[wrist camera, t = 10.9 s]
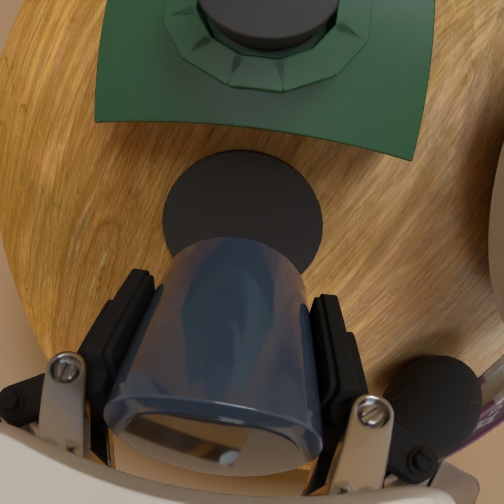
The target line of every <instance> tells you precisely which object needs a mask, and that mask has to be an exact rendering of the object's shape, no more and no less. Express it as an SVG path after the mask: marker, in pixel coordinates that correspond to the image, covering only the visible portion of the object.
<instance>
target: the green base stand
mask: <svg viewBox="0 0 504 504" xmlns="http://www.w3.org/2000/svg"><path fill="white" fill-rule="evenodd" d="M434 15H435V0H340V1H339V4H338V6H337V8H336V10H335V12H334V13H333V15H332V16H331V17H330V18H329V19H328V21H327V22H326V23H325V24H324V25H323V26H322V27H321V29H320V30H319V31H318V32H317V33H316V34H315V35H314V36H313V37H312V38H310V39H309V40H307V41H306V42H304V43H302V44H300V45H297V46H294V47H291V48H287V49H282V50H258V49H252V48H249V47H245V46H242V45H240V44H238V43H236V42H234V41H232V40H230V39H229V38H227V37H226V36H225V35H224V34H222V33H221V32H220V31H219V30H218V28H217V27H216V26H215V25H214V23H213V22H212V21H211V20H210V18H209V17H208V16H207V15H206V13H205V12H204V11H203V9H202V8H201V6H200V4H199V1H198V0H107V4H106V9H105V14H104V20H103V25H102V32H101V39H100V46H99V55H98V64H97V76H96V91H95V120H94V121H95V122H96V123H103V122H181V123H200V124H214V125H225V126H236V127H245V128H253V129H261V130H269V131H276V132H282V133H289V134H295V135H301V136H306V137H312V138H317V139H322V140H327V141H332V142H337V143H342V144H346V145H351V146H355V147H359V148H363V149H367V150H371V151H375V152H379V153H383V154H386V155H390V156H394V157H397V158H400V159H404V160H407V161H412V160H413V156H414V152H415V148H416V143H417V139H418V135H419V130H420V125H421V120H422V115H423V110H424V105H425V99H426V93H427V87H428V80H429V73H430V65H431V56H432V46H433V33H434Z"/></svg>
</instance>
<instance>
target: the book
mask: <svg viewBox="0 0 504 504" xmlns="http://www.w3.org/2000/svg"><path fill="white" fill-rule="evenodd" d="M478 380H479V383H480V386H481V390H482V410H481V415H480V418H479V421H478V423H477V425H476V427H475V429H474V431H473V433H472V434H471V436H470V437H469V438H468V439H467V441H466V442H465V443H464V444H463V445H462V446H461V447H460V448H458V449H457V450H456V451H455V452H453V453H452V454H450V455H448V456H446V457H444V458H442V459H439V461H441V460H444V459H446V458H448V457H450V456H452V455H453V454H455V453H457V452H458V451H460V450H462V449H463V448H465V447H467V446H468V445H470V444H472V443H473V442H475V441H476V440H478V439H479V438H481V437H482V436H484V435H485V434H487V433H488V432H490V431H491V430H492V429H494V428H495V427H497V426H498V425H499V424H501V423H502V422H503V421H504V356H502V357H501V358H500V359H499V360H498V361H497V362H496V363H495V364H494V365H493V366H492V367H491V368H489V369H488V370H487V371H486V372H485V373H484V374H483V375H482V376H481V377H480V378H479V379H478Z"/></svg>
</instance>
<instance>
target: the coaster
mask: <svg viewBox="0 0 504 504" xmlns="http://www.w3.org/2000/svg"><path fill="white" fill-rule="evenodd" d="M322 229H323V222H322V213H321V209H320V206H319V203H318V200H317V198H316V196H315V193H314V192H313V190H312V188H311V187H310V185H309V183H308V182H307V181H306V180H305V179H304V177H303V176H302V175H301V174H300V173H299V172H298V171H296V170H295V169H294V168H293V167H292V166H290V165H289V164H287V163H286V162H284V161H282V160H280V159H278V158H276V157H274V156H271V155H268V154H265V153H262V152H257V151H252V150H230V151H224V152H220V153H216V154H213V155H210V156H208V157H205V158H203V159H202V160H200V161H198V162H196V163H195V164H194V165H192V166H191V167H189V168H188V169H187V170H186V171H185V172H184V173H183V174H182V175H181V176H180V177H179V178H178V180H177V181H176V182H175V184H174V185H173V187H172V189H171V190H170V192H169V194H168V197H167V200H166V203H165V207H164V212H163V230H164V235H165V240H166V243H167V245H168V248H169V250H170V252H171V254H172V256H173V258H174V257H175V256H176V255H177V254H178V253H179V252H180V251H182V250H183V249H185V248H186V247H188V246H190V245H192V244H194V243H196V242H199V241H202V240H206V239H210V238H216V237H240V238H245V239H251V240H254V241H257V242H260V243H263V244H265V245H267V246H269V247H271V248H273V249H275V250H276V251H278V252H280V253H281V254H282V255H283V256H285V257H286V258H287V259H288V260H289V261H290V262H291V263H292V264H293V265H294V266H295V268H296V269H297V271H298V272H299V273H300V275H301V274H302V273H303V272H304V271H305V270H306V269H307V268H308V266H309V265H310V264H311V262H312V261H313V259H314V257H315V255H316V253H317V251H318V248H319V246H320V243H321V238H322Z"/></svg>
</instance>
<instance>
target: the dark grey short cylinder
mask: <svg viewBox="0 0 504 504" xmlns="http://www.w3.org/2000/svg"><path fill="white" fill-rule="evenodd" d="M198 1H199V4H200V6H201V8H202V9H203V11H204V12H205V13H206V15H207V16H208V17H209V18H210V20H211V21H212V22H213V23H214V25H215V26H216V27H217V28H218V30H219V31H220V32H221V33H222V34H224V35H225V36H226V37H227V38H229V39H230V40H232V41H234V42H236V43H238V44H240V45H242V46H245V47H249V48H252V49H258V50H282V49H287V48H291V47H294V46H297V45H300V44H302V43H304V42H306V41H307V40H309V39H310V38H312V37H313V36H314V35H315V34H316V33H317V32H318V31H319V30H320V29H321V27H322V26H323V25H324V24H325V23H326V22H327V21H328V19H329V18H330V17H331V16H332V15H333V13H334V12H335V10H336V8H337V6H338V4H339V1H340V0H198Z"/></svg>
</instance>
